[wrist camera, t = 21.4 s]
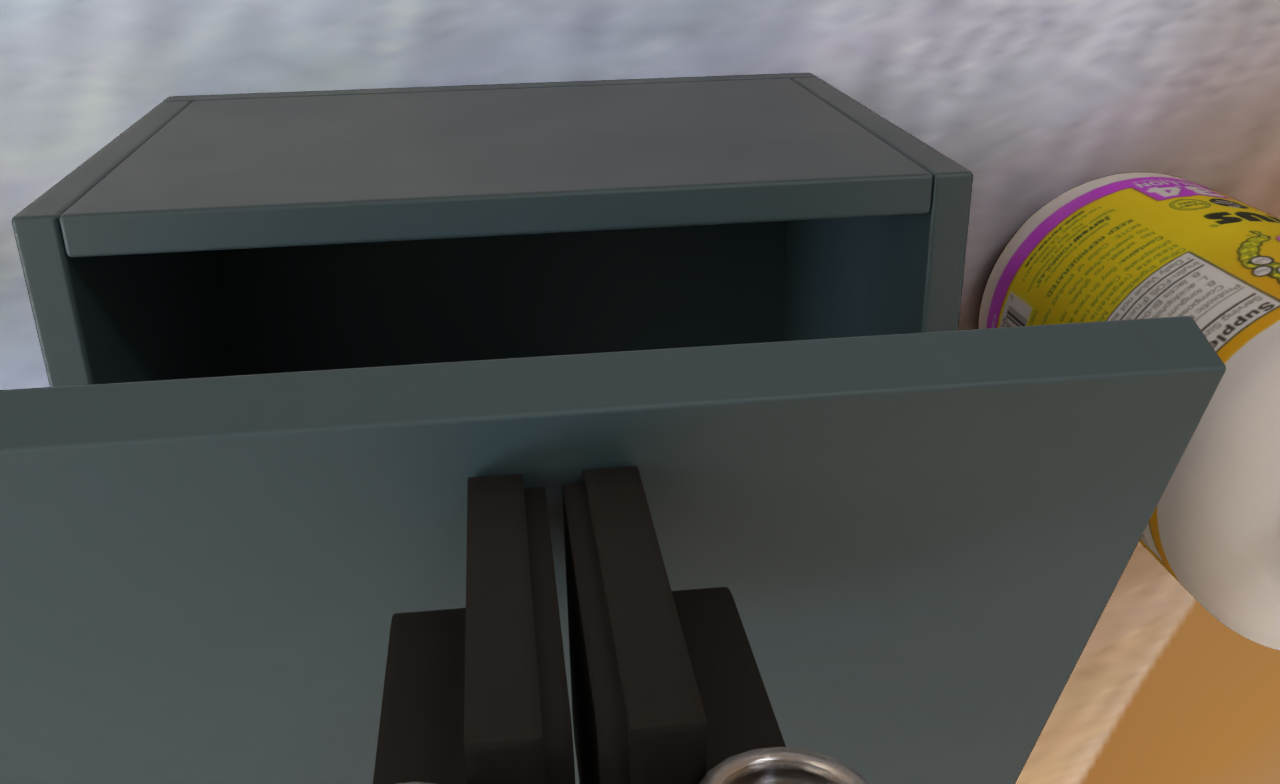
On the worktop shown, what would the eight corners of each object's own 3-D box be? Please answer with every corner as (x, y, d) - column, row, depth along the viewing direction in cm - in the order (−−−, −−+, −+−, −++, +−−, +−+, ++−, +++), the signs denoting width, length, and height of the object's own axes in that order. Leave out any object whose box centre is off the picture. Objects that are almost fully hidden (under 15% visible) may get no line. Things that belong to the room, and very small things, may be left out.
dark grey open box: (167, 96, 24) (8, 217, 16) (811, 72, 26) (975, 172, 17) (272, 710, 30) (198, 1029, 22) (787, 662, 32) (899, 944, 23)
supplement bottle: (1289, 273, 29) (1843, 551, 17) (1093, 475, 31) (1478, 853, 19) (1111, 102, 27) (1610, 289, 15) (909, 329, 28) (1218, 658, 17)
